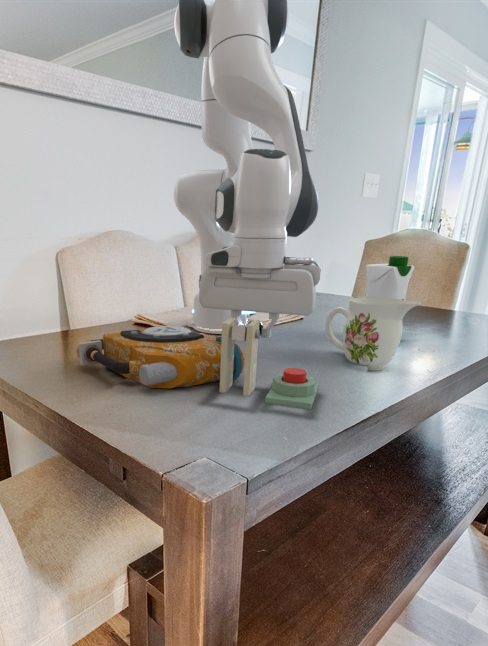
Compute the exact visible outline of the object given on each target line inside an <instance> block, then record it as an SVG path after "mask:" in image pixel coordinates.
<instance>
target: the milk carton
mask: <svg viewBox="0 0 488 646" xmlns="http://www.w3.org/2000/svg"><path fill="white" fill-rule="evenodd" d="M388 259H389V260H388V263H373V264H372V263H371V264H365V268H366V269H365V270H366V287H365V296H364V297H379V298H391V299H401V300H406V297H407V293H408V286H409V283H410V280H411V278H412V275H413V273H414V270H415V265H410V264H409V265H408V263H409V256H406V255H405V256H404V255H403V256H402V255H391V256H389V258H388Z"/></svg>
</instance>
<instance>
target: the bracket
mask: <svg viewBox="0 0 488 646" xmlns="http://www.w3.org/2000/svg"><path fill="white" fill-rule="evenodd" d="M235 320H236V319H235V318H229V319H228V320H226V321H225V322H223V323H222V331H221V334H220V335H221V337H222V339H221V366H220V381H219V393H223V394H226V393H227V392H228V390H230V389H231V387H232V386H233V381H234V380H233V362H234V343H235V341H234V340H231V335H232V325H235ZM260 322H261V320H260V319H256V320H253V321H252V322H251V323H249V324H248V325H247V335H246V341H245V353H244V354H245V355H244V369H243V370H244V373H243V389H242V396H243V397H250V395H252V393H253V392H254V391H255V389H256V379H257V367H258V352H259V339H260V338H261V336H260V330H259V323H260Z"/></svg>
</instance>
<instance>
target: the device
mask: <svg viewBox="0 0 488 646" xmlns="http://www.w3.org/2000/svg"><path fill="white" fill-rule="evenodd" d="M221 339H222V336H215V335H210V334H208V333H205V332H198V331H194V330H190V329H189V328H186V327H183V326H178V325H177V326H176V325H155V326H151V327H147V328H145V329H144V330H143V329H129V330H127V329H126V330H121V331H120V332H119V331H118V332H111V333H104V334H103V335H102V338H98V339H83V340H80V341H79V342H78V343H77V344H76V346H75V352H76V357H77V358H79V364H80V366H83V367H84V366H90V365H95V364H101V365H102V366H104V367H106V368H107V369H109V370H111V371H113V372H115V373H117V374H119V375H121V376H123V377H125V378H129V379H132V380H134V381H136V382H138V383H140V384H142V385H144V386H145V387H147V388H149V389H151V388H152V389H169V390H170V389H173V388H174V389H175V388H178V387H184V388H188V387H193V386H198V385H203V384H209V383H215V382H220V366H221ZM244 367H245V355H244V354H243V351H242V349H241V347H240V346H239V344H237V343H235V342H234V362H233V381H236V380H237V379H239V378H240V375H241V374H242V373H243V370H244Z"/></svg>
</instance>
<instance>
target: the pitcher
mask: <svg viewBox="0 0 488 646" xmlns="http://www.w3.org/2000/svg"><path fill="white" fill-rule="evenodd" d="M421 304H422V302H420V301H417V300H416V301H414V300H407V299H405V300H401V299H391V298H379V297H365V296H357V297H351V298H349V299H348V305H349V306H348V307H349V308H345V307H343V306H336V307H333V308H332V309H331V310H330V311H329V313H328V314H327V316H326V320H325V335H326V337H327V339H328V340H329V342H330V343H331V345H333V346H335V347H336V348H338V349H340V350H341V351H343V353H344V355H345V358H346V360H347V361H349V362H351V363H354V364H357V365H362V366H367V368H366V371H380V370H383V369H385V367H387V365H388V364H389V363H390V362H391V361H392V360H393V358H394V357H395V355H396V353H397V351H398V349H399V347H400V343H401V340H402V336H403V329H404V328H403V319H404V317H405V316H406V314H407V313H408V312H409V311H410V310H411V309H413V308H415V307H418V306H419V305H421ZM337 314H342V315H343V316H344V317H345V318H346V319H345V321H344V324H343V329H342V341H341V340H339V339H338V338H337V337H336V336H335V334H334V332H333V327H332V326H333V320H334V317H335V316H336V315H337Z"/></svg>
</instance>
